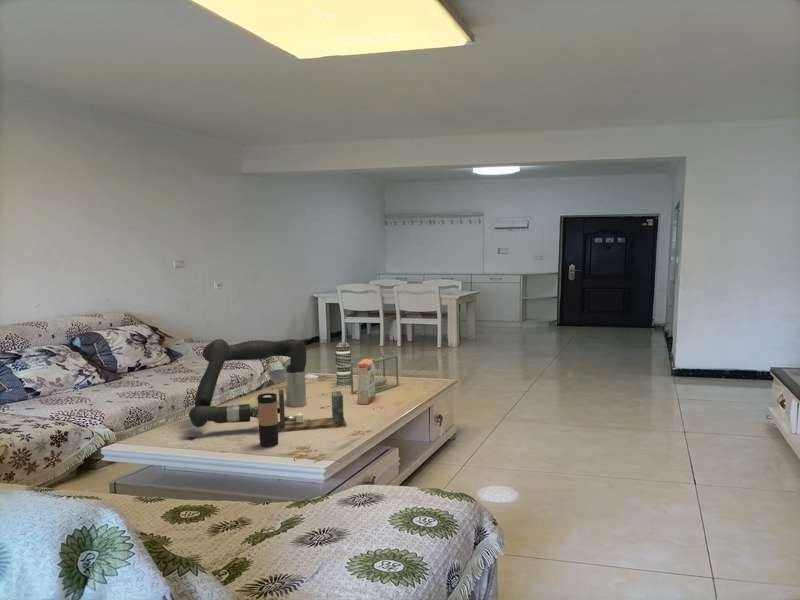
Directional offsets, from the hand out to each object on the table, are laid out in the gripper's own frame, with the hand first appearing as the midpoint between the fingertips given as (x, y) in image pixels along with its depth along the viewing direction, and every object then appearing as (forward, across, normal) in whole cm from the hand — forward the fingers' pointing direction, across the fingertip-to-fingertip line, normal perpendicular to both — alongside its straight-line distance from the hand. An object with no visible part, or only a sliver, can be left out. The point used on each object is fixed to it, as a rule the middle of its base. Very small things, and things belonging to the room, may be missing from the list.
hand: (279, 410), depth 264 cm
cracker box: (+44, +37, +8) cm, 58 cm away
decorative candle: (+36, +77, +8) cm, 85 cm away
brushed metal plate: (+4, 0, +6) cm, 7 cm away
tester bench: (+12, 0, +8) cm, 15 cm away
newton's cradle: (+52, +61, +8) cm, 81 cm away
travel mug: (-4, -22, +8) cm, 24 cm away
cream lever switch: (+8, +2, +5) cm, 10 cm away
